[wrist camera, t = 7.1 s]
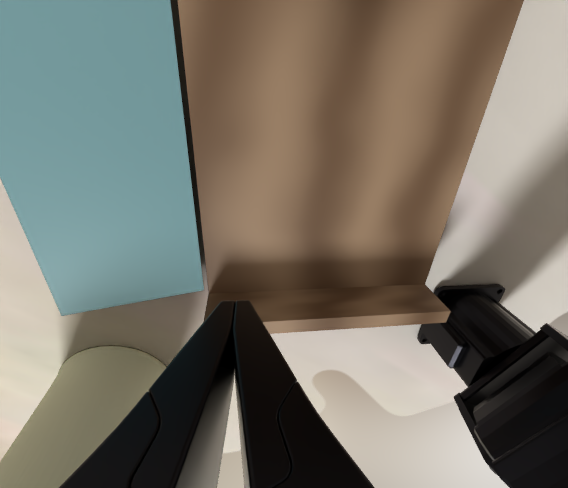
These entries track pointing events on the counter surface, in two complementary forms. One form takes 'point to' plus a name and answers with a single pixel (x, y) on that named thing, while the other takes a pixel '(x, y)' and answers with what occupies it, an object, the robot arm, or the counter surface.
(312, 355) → the counter surface
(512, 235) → the counter surface
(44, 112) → the teal flat rectangular block
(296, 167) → the flatbed
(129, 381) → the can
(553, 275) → the counter surface
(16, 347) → the counter surface
